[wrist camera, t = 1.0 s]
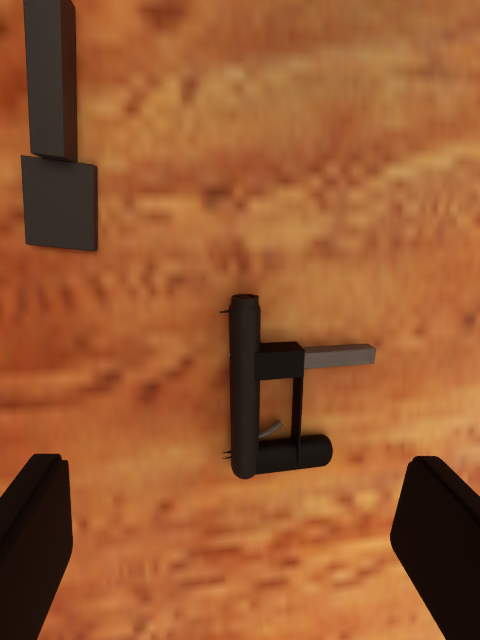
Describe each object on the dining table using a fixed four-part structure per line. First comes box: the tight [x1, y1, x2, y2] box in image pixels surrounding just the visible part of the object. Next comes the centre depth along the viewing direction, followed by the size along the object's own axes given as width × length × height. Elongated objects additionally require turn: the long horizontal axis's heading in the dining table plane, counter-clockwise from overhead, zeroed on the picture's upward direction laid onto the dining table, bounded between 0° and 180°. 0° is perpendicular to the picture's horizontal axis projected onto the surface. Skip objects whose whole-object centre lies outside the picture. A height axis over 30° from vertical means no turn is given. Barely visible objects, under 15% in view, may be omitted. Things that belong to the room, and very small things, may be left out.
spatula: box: [21, 0, 97, 251], centre depth 26 cm, size 18×6×3 cm, turn 174°
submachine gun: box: [220, 294, 376, 479], centre depth 34 cm, size 3×20×16 cm
